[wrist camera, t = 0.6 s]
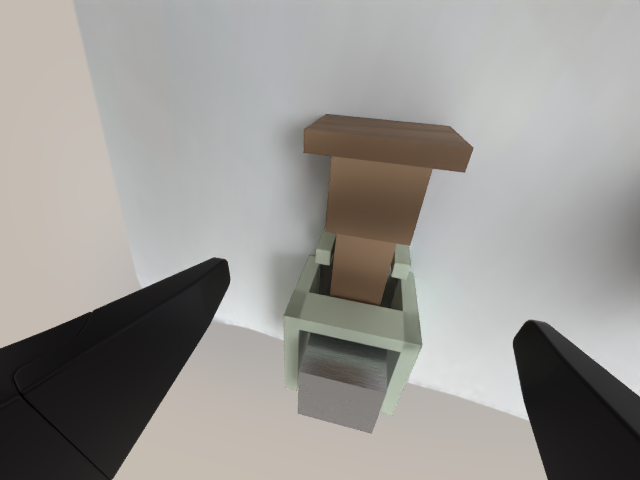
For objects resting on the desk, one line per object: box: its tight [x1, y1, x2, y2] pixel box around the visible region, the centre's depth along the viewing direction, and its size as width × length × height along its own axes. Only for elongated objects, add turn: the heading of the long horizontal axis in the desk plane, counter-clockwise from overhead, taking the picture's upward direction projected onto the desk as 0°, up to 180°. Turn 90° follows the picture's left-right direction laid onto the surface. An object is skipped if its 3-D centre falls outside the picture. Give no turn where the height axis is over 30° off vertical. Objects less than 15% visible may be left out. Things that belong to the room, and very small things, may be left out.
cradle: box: [284, 227, 422, 415], centre depth 20 cm, size 8×11×7 cm
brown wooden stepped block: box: [304, 114, 473, 307], centre depth 18 cm, size 18×7×5 cm, turn 176°
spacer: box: [298, 332, 387, 433], centre depth 19 cm, size 5×5×5 cm
